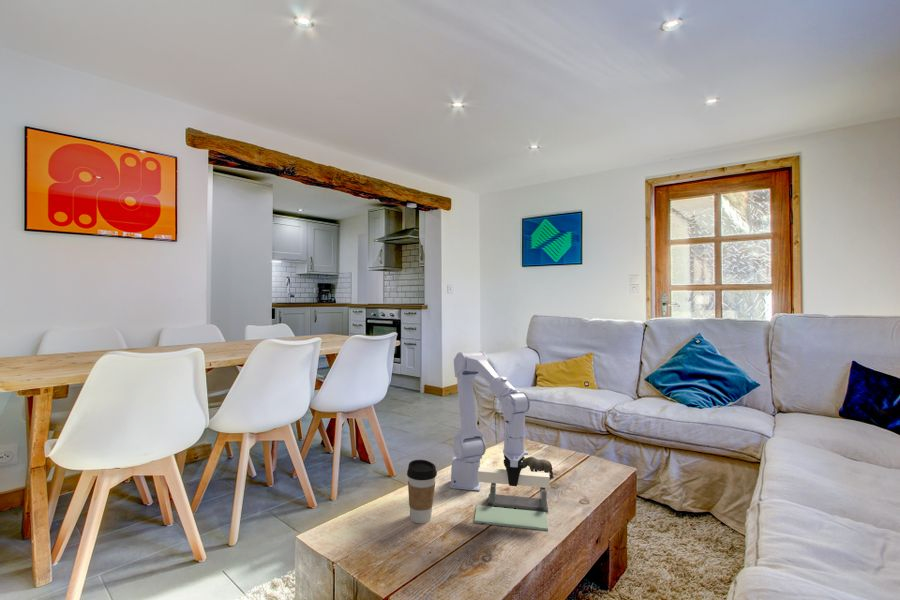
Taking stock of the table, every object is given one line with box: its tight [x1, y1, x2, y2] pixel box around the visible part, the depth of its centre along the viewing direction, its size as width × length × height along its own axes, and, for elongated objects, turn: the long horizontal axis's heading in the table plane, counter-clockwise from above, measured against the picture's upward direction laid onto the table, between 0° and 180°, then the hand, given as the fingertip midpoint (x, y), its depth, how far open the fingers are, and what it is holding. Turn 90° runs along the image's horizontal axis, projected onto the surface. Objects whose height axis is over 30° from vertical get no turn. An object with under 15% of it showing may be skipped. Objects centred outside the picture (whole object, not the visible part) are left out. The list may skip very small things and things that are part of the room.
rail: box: [478, 466, 551, 489], centre depth 123 cm, size 20×3×3 cm, turn 82°
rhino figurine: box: [522, 455, 554, 479], centre depth 153 cm, size 4×14×6 cm, turn 59°
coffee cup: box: [406, 459, 438, 524], centre depth 120 cm, size 8×8×15 cm
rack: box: [487, 483, 549, 513], centre depth 130 cm, size 18×7×6 cm, turn 82°
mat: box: [473, 504, 549, 532], centre depth 122 cm, size 20×9×1 cm, turn 82°
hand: (512, 483), depth 123 cm, fingers closed on rail, 3 cm apart
